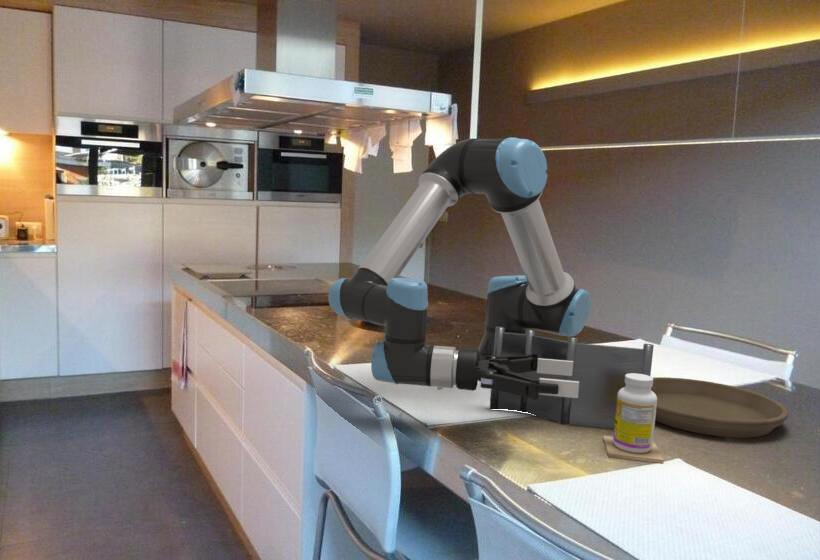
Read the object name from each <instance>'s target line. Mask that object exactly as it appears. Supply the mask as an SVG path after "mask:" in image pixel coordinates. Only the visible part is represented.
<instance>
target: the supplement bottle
mask: <svg viewBox="0 0 820 560" xmlns="http://www.w3.org/2000/svg"><path fill="white" fill-rule="evenodd" d="M653 378H654V377H652V376H651V375H650V376H648V375H644V374H637V373H629V374H626V375H625V384H626V386H625V387H624V388H622V389H620V390H619V392H618V395H617V405H616V415H615V425H614V429H613V436H612V437H613V443H614V445H615V446H616V447H618V448H619V449H621V450H624V451H628V452H633V453H646V452H648V451H650V450H651V449H652V445H653V441H654V434H655V425H656V421H655V416H656V407H657V396H656V394H655V393H654V392H652V391H651V387H652V385H653Z"/></svg>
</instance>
